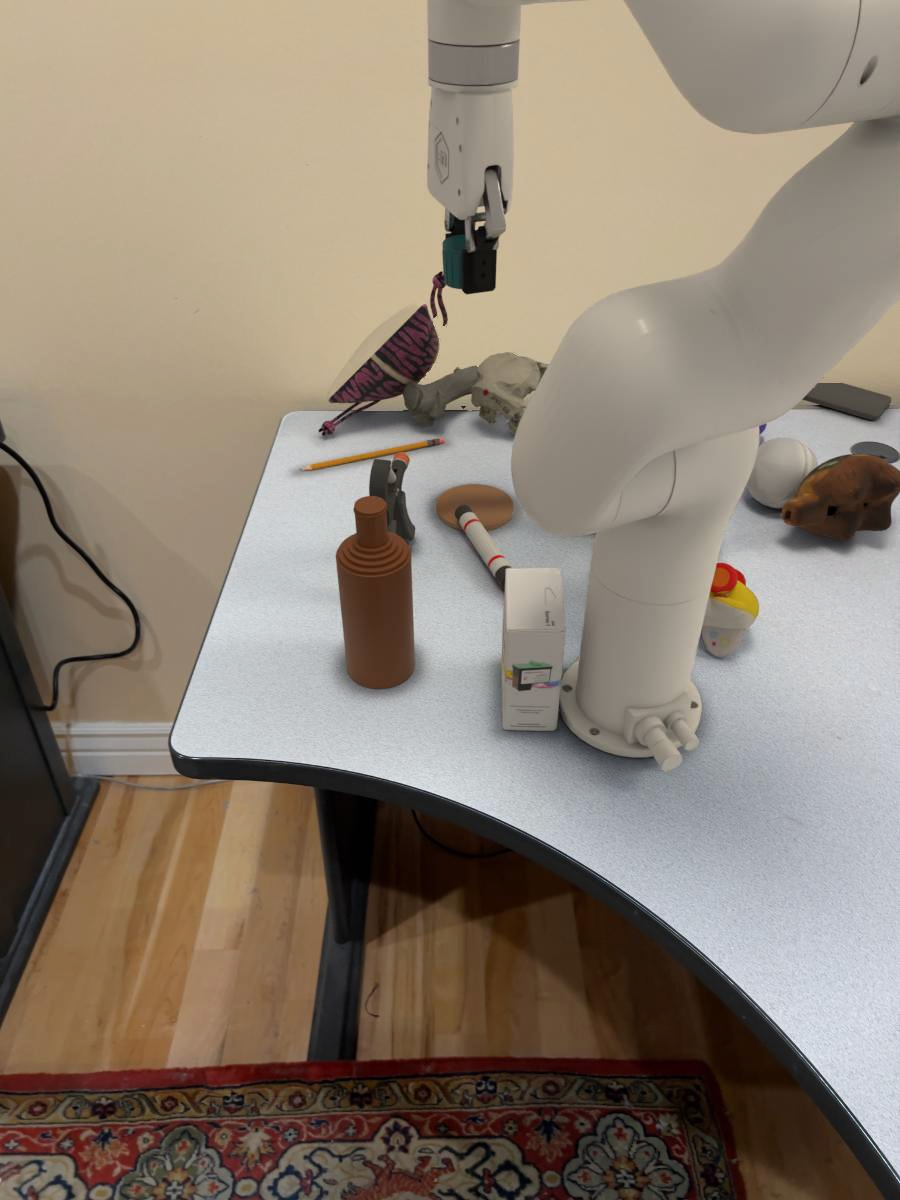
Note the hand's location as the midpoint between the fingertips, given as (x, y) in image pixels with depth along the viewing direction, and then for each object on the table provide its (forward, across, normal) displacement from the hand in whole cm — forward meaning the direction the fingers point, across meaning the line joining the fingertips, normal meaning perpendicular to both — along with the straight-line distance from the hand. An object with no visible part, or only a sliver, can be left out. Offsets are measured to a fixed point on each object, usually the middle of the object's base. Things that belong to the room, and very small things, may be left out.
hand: (470, 280), depth 88 cm
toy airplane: (+23, +30, +18) cm, 42 cm away
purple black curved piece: (+16, -22, -4) cm, 28 cm away
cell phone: (+26, -10, +58) cm, 64 cm away
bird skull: (+28, -23, +19) cm, 41 cm away
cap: (0, 0, -1) cm, 1 cm away
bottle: (+27, +20, -16) cm, 37 cm away
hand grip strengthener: (+27, +7, -10) cm, 30 cm away
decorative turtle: (+22, +21, +37) cm, 48 cm away
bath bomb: (+21, +9, +31) cm, 39 cm away
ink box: (+27, +29, -5) cm, 40 cm away
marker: (+27, +9, -1) cm, 29 cm away
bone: (+21, -28, +7) cm, 36 cm away
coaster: (+27, -1, +2) cm, 27 cm away
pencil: (+27, -16, -6) cm, 32 cm away
